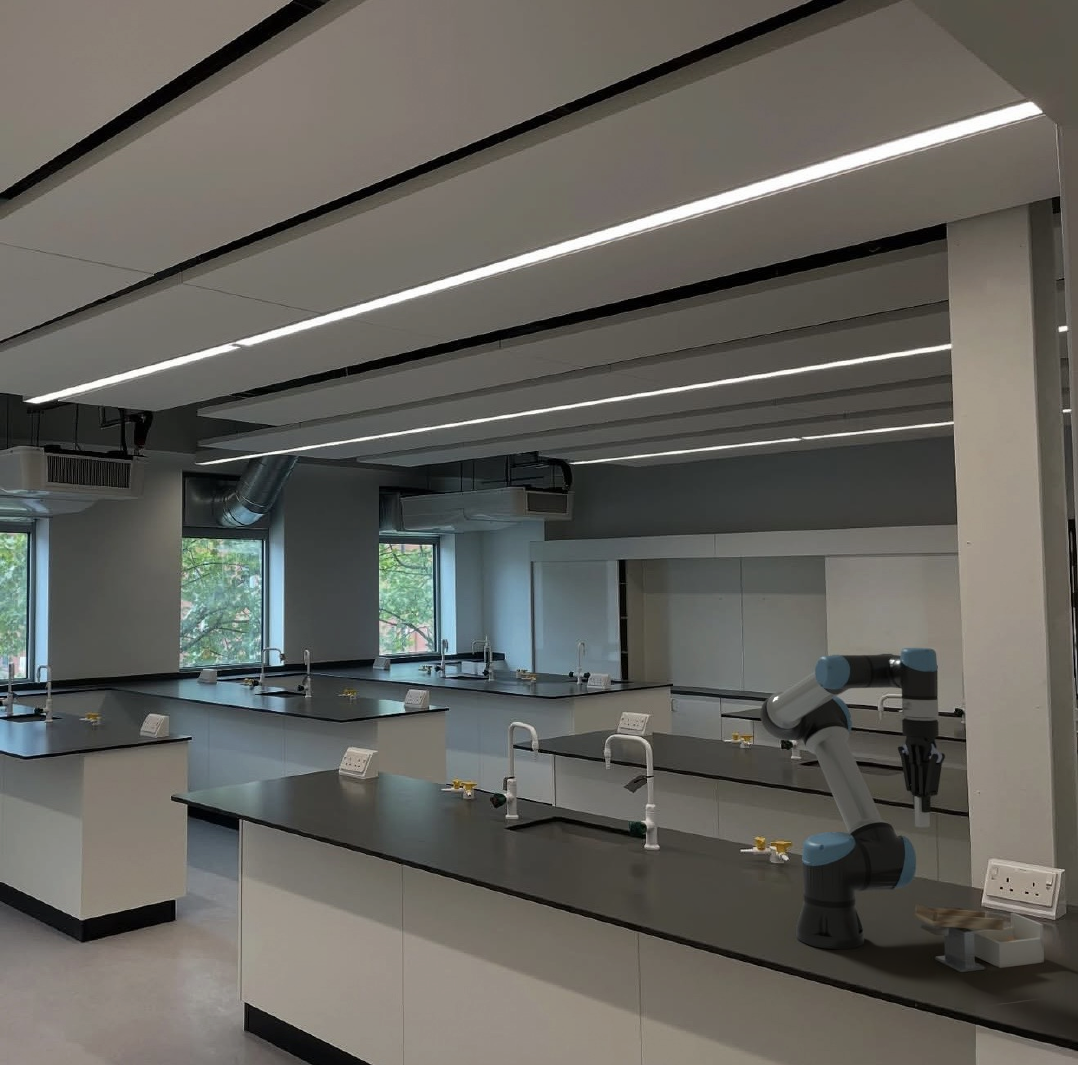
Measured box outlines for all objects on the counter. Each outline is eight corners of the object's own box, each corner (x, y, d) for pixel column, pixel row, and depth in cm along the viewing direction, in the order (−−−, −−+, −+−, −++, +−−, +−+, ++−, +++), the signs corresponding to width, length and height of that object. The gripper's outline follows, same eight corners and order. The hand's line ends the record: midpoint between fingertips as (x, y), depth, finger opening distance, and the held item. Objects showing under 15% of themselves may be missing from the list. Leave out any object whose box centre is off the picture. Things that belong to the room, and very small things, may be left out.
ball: (1000, 953, 225) (998, 937, 225) (1013, 950, 226) (1011, 934, 226) (1012, 959, 221) (1010, 942, 221) (1025, 956, 222) (1023, 939, 223)
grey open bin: (971, 954, 225) (970, 917, 226) (1014, 949, 229) (1013, 912, 229) (999, 967, 217) (998, 929, 218) (1044, 962, 221) (1042, 924, 221)
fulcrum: (961, 972, 215) (960, 934, 215) (935, 959, 222) (934, 922, 223) (984, 969, 216) (983, 931, 217) (958, 956, 224) (957, 920, 225)
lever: (931, 935, 214) (934, 912, 215) (893, 917, 227) (895, 895, 227) (1001, 939, 219) (1003, 916, 220) (960, 921, 232) (962, 900, 232)
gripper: (887, 715, 231) (889, 821, 230) (925, 722, 219) (928, 834, 217) (914, 714, 234) (917, 819, 232) (954, 720, 221) (957, 831, 220)
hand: (922, 826), depth 225 cm, fingers closed
